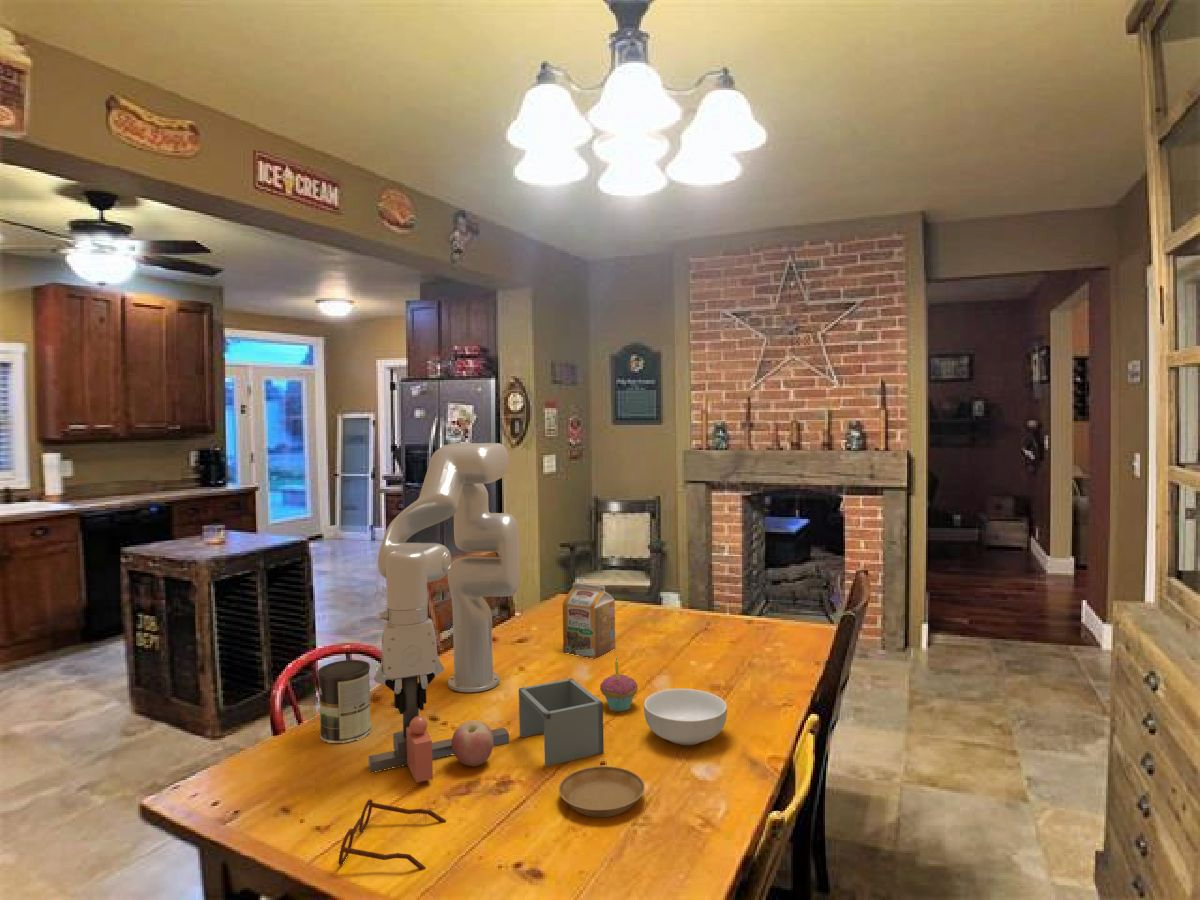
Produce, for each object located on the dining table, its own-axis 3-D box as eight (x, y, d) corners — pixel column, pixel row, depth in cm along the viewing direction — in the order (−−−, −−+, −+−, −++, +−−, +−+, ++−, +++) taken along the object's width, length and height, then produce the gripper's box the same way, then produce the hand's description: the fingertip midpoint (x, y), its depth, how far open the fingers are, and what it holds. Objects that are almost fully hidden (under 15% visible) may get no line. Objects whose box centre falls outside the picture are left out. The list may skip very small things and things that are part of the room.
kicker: (393, 753, 141) (391, 672, 141) (424, 747, 144) (422, 666, 143) (407, 784, 129) (405, 695, 129) (441, 776, 132) (438, 689, 131)
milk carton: (615, 649, 206) (614, 582, 205) (595, 659, 197) (594, 590, 196) (584, 643, 212) (583, 578, 211) (563, 653, 203) (562, 586, 202)
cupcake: (634, 716, 160) (633, 662, 159) (596, 713, 161) (595, 660, 161) (640, 701, 168) (639, 649, 168) (604, 698, 170) (603, 648, 169)
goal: (519, 735, 151) (518, 688, 150) (572, 724, 156) (571, 678, 155) (546, 766, 137) (545, 714, 137) (603, 752, 142) (602, 702, 142)
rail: (368, 766, 138) (368, 756, 138) (504, 737, 150) (504, 727, 150) (371, 773, 136) (370, 762, 136) (509, 742, 148) (508, 733, 147)
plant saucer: (578, 833, 115) (577, 817, 115) (547, 790, 129) (546, 776, 129) (660, 812, 121) (660, 796, 121) (622, 773, 135) (622, 759, 135)
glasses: (367, 823, 120) (366, 794, 119) (446, 823, 119) (445, 793, 119) (336, 873, 107) (335, 840, 106) (425, 873, 106) (424, 840, 106)
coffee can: (313, 745, 148) (311, 677, 147) (328, 724, 158) (325, 660, 157) (365, 743, 149) (363, 675, 148) (376, 722, 159) (374, 658, 158)
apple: (444, 769, 137) (443, 728, 136) (466, 752, 144) (465, 712, 143) (480, 777, 134) (479, 734, 133) (501, 758, 141) (500, 718, 140)
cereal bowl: (673, 763, 138) (672, 726, 137) (629, 730, 152) (629, 697, 152) (744, 743, 146) (744, 708, 145) (696, 714, 160) (696, 682, 160)
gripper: (366, 626, 132) (369, 725, 133) (455, 614, 139) (457, 708, 140) (360, 616, 139) (363, 710, 140) (445, 605, 146) (448, 695, 147)
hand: (410, 708), depth 140 cm, fingers closed on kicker, 3 cm apart
